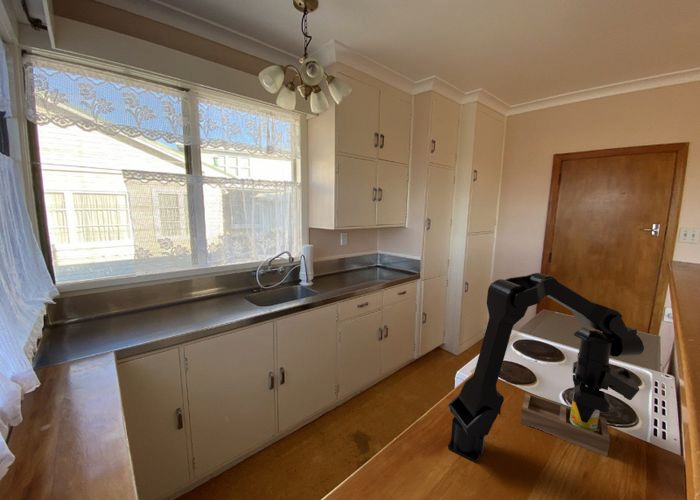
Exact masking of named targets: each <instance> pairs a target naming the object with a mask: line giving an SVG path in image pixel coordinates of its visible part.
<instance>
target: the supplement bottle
mask: <svg viewBox="0 0 700 500" xmlns="http://www.w3.org/2000/svg"><path fill="white" fill-rule="evenodd" d="M593 389H594V388H593ZM570 407H571V413H570V422H571V423H572V424H573V425H575V426H578V427H581V428H583V429H586V430H589V431H592V432H594V431H596V429H597V425H598V419H599V416H600V412H601V411H599V410H595V411H594V413H593V414H592V416H591V417H590V419H589V421H588V422H587V423H585V422H582V421H581V418H580V415H579V412H578V409H577V406H576V403H575V402H574V401H573V400H572V402H571V406H570Z"/></svg>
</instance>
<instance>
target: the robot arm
mask: <svg viewBox="0 0 700 500" xmlns="http://www.w3.org/2000/svg"><path fill="white" fill-rule="evenodd" d="M546 297H547V298H549V299H551V300H553V301H554V302H556V303H557V304H559V305H561V306H563V308H566V309H568V310H570V312H572V313H573V317H574V318H576V319H577V320H578V321H579V322H580V323H582V324H583V325H586V326H588V327H590V328H592V329H595V330H590V329H588V328H586V327H582V328H581V329H579V330H577V331H575V332H574V333H573V336H574V337H576V338H578V339H580V343H579V350H578V353H577V361H575V362H573V365H572V374H573V375H572V381H573V391H572V401H574V402H575V403H576V406H577V409H578V412H579V415H580V418H581V421H582V422H585V423H587V422H588V421H589V419H590V417H591V416H592V414H593V413H594V411H595V410H599V411H600V412H602V413H609V411H610V407H611V406H610V400H609V396H608V395H607V394H606V393H605V391H602V390H606V391H608V390H609V389H610V390H612V391H615V393H617V394H619V395H621V396H623V398H624V399H626V400H627V401H631V400H633V398H634V397H636V395H637V393H638V392H640V387H639V384H638V382H636V380H635V379H634V378H631V372H630V370H629V369H627V368H625V367H619V368H617V369H616V368H614V369H613V368H612V367H610V358H611V357H614V358H615V357H617V358H618V357H620V358H621V357H635V356H640V355H641V354H642V353H643V352H644V351H645V346H644V342H643V341H642V338H640V336H639V335H637V333H638V329H635V328H633V327H630V326H626V324H625V322H624V320H623V315H622V313H621V312H620V311H618V310H616V309H613V308H611V307H608V306H605V305H601V304H599V303H596V302H594V301H591V300H589V299H588V298H586V297H584V296H582V295H581V294H579V293H578V292H576V291H574V290H573V289H571V288H569V287H568V286H566V285H565V284H564V283H561V282H560V281H558V280H557V279H556V277H554V276H551V275H547V274H544V273H540V272H535V273H531V274H528V275H523V276H515V277H509V278H505V279H503V278H502V279H501V278H500V279H496V280H495V281H494V282H491V283H490V285H489V286H488V289H487V295H486V306H487V311H488V317H489V318H488V321H487V325H486V329H485V333H484V336H483V340H482V344H481V347H480V350H479V353H478V358H477V362H476V364H475V369H474V373H473V375H472V376H471V377H469V378H468V379H467V380H465V382H464V384H463V386H462V388H461V391H460V393H458V395H456V396H455V397H454V398H453V399H452V400H451V401H450V402H449V403H448V408H449V412H450V413H451V414H452V415H453V416H454V417H453V418H452V422H451V433H450V440H449V442H448V444H447V449H448V450H450V451H453V452H454V453H456V454H459V455H460V456H463V457H464V458H466V459H468V460H471V461H473V462H476V463H477V462H479V461H478V460H479V458H480V456H482V455H483V452H484V450H485V442H486V436H488V435H489V433H490V431H491V430H492V428H493V424H494V423H495V421H496V420H497V418H498V415H499V416H501V413H502V412H501V408H502V405H503V403H504V402H505V401H504V400H505V397H504V395H502V394H501V392H500V391H498V390H497V384H498V380H499V376H500V372H501V370H502V366H503V363H504V359H505V356H506V353H507V349H508V346H509V342H510V338H511V335H512V332H513V328H514V326H515V325H516V324H517V323H519V321H521V320H522V319H523V318H524V317H525V316H526V313H527V310H528V308H529V307H532V306H535V305H539V304H540V303H541V302H542V301H543V300H544V299H545V298H546ZM610 356H611V357H610ZM593 388H594V389H593Z"/></svg>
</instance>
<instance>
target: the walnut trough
mask: <svg viewBox="0 0 700 500" xmlns="http://www.w3.org/2000/svg"><path fill="white" fill-rule="evenodd" d="M571 407H572V406H570V405H566V404H564V403H561V402H558V401H556V400H551V399H549V398H546V397H544V396H543V397H542V396H540V395H537V394H533V393H530V392H528V391H526V392H525V395H524V399H523V403H522V407H521V414H520V421H519V423H520V424H521V423H523V424H522V425H524V424H525V425H524V426H527V425H528V427H529V426H531V427H530V428H532V427H534V428H536V429H535V430H537V429H539V430H538V431H540V430H542V431H544V432H543V433H545V432H546V433H545V434H547V433H549V434H548V435H550V434H552V435H554V436H553V437H555V436H556V437H555V438H558V437H559V438H558V439H560V438H561V439H560V440H564V441H565V440H566V441H565V442H568V443H571V444H574V445H576V446H579V447H580V448H583V449H586V450H589V451H592V452H594V453H596V454H599V455H601V456H605V457H608V454H609V449H610V443H611V440H610V439H611V438H610V433H609V428H608V427H609V426H608V423H607V422H608V421H607V418H606V417H603V416H600V415H599V419H598V425H597V429H596V431H594V432H592V431H589V430H586V429H583V428H581V427H578V426H575V425H573V424H572V423H571V422H570V413H571ZM534 428H533V429H534ZM542 431H541V432H542ZM552 435H551V436H552Z"/></svg>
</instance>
